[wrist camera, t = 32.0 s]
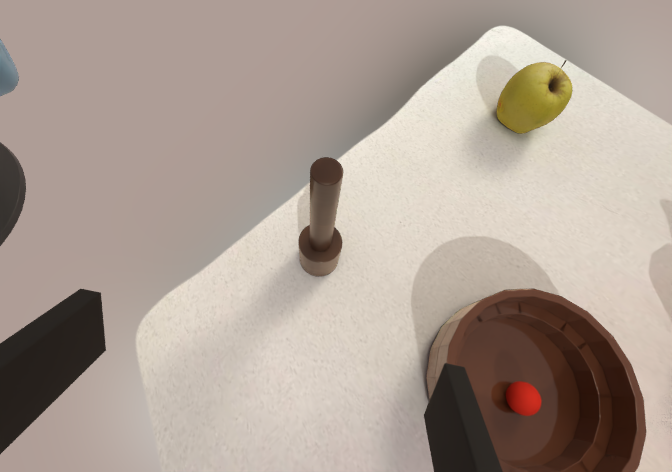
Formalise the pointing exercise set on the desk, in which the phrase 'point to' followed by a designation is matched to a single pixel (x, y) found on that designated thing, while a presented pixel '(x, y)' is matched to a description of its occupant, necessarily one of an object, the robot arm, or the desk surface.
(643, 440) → the bowl
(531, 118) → the apple
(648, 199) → the desk surface
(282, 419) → the desk surface
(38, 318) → the robot arm
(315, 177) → the brown pestle
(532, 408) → the red ball
